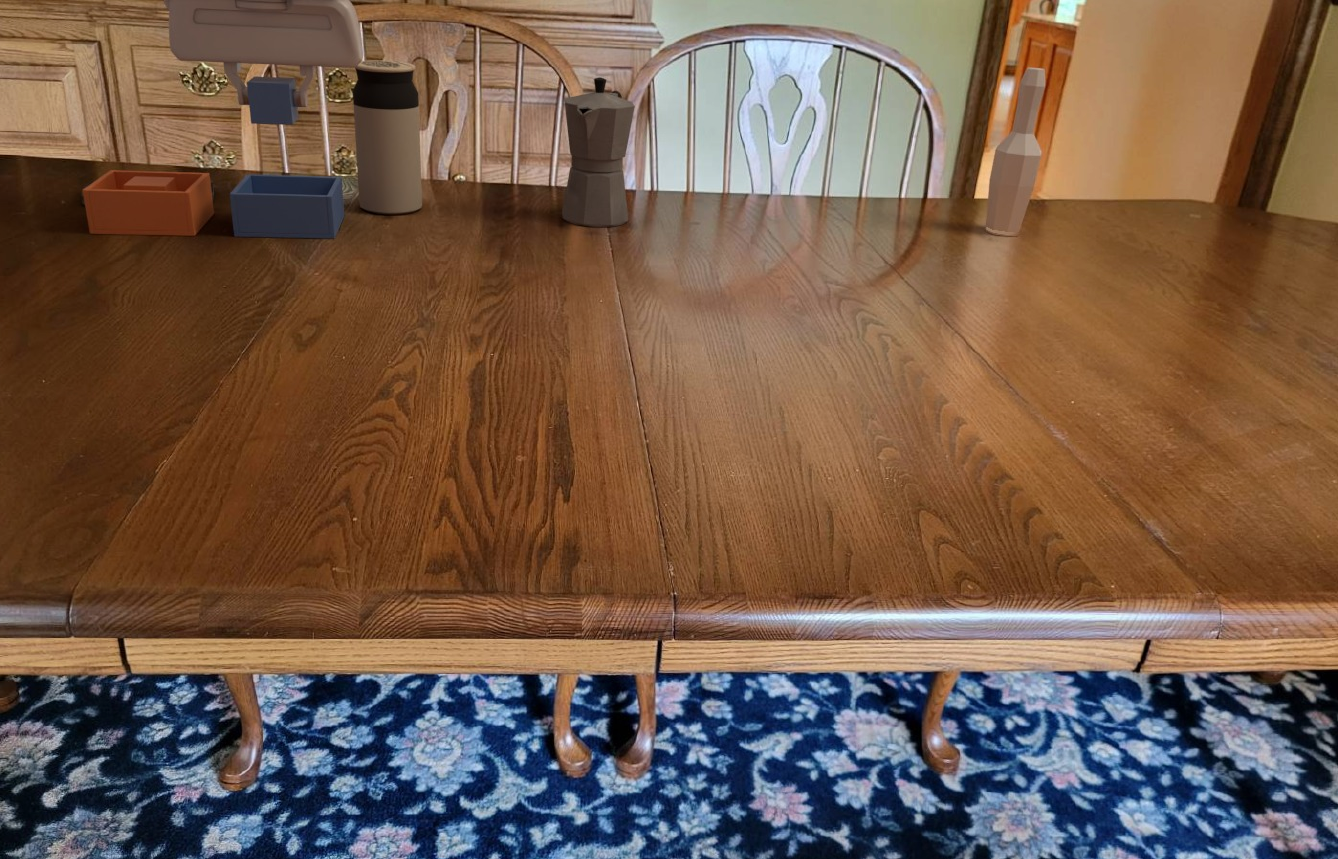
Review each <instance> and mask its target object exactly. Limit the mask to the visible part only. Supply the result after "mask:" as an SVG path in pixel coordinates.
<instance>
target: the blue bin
mask: <svg viewBox="0 0 1338 859" xmlns="http://www.w3.org/2000/svg"><path fill="white" fill-rule="evenodd" d="M229 201H230V202H229V203H230V210H231V218H232V220H231V221H232V227H233V228H232V229H233V237H234V238H236V237H237V238H276V239H277V238H280V239H281V238H282V239H283V238H284V239H332V240H334V239H336V237H337V234H338V232H339V229H340V227H341V225H342V223H343V220H344V218H345V208H344V207H345V206H344V190H343V177H342V176H322V175H321V176H320V175H286V174H285V175H284V174H279V175H278V174H255V173H254V174H253V173H252V174H251V173H246V174H245V175H244V177H243V178H242V179H241V180H240V181H239V182H238V184H237V185H236V186H235V187H233V189H232V190H231V192H230V193H229Z"/></svg>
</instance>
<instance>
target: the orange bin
mask: <svg viewBox="0 0 1338 859" xmlns="http://www.w3.org/2000/svg"><path fill="white" fill-rule="evenodd" d="M135 176H140V177H174V178H175V182H176V189H177V191H146V190H124V186H123V185H124V184H125V183H127V182H128V181H129V180H131V179H132V178H133V177H135ZM210 181H211V174H210V173H209V172H185V171H184V172H183V171H152V170H151V171H150V170H118V169H116V170H115V169H114V170H113V169H110V170H109V171H107V172H106V173H105V174H103V175H101V176H100V177H99V178H97V179H96V180H95V181H93V182H91V183H92V184H90V185H89V186H88V187H86V188H85V189H84V188H83V189H82V191H83V197H84V202H85V205H84V209H85V212H86V213H85V214H86V220H87V224H88V231H89V235H121V236H122V235H123V236H124V235H126V236H127V235H130V236H178V237H181V236H182V237H195V236H196V235H197V234H198V233H199V232H200V231H201V229H202V228H204V226H205V225H206V224H207V223H208V221H209V220H210V219H211V218H212V217H213V215H215V210H214V209H215V208H214V202H213V199H212V191H211V183H210Z"/></svg>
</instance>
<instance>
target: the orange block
mask: <svg viewBox="0 0 1338 859" xmlns="http://www.w3.org/2000/svg"><path fill="white" fill-rule="evenodd" d="M123 186H124V190H146V191H177V189H176V182H175V178H174V177H140V176H135V177H133V178H132V179H131V180H129V181H128V182H127V183H125V184H124V185H123Z"/></svg>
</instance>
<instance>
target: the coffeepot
mask: <svg viewBox="0 0 1338 859" xmlns="http://www.w3.org/2000/svg"><path fill="white" fill-rule="evenodd" d="M593 82H594V89H595V90H594V92H588V93H584V94H579V95H575V96H569V97H565V98H563V99H564V100H563V101H564V110H565V118H566V119H565V120H566V129H567V138H568V139H567V140H568V148H569V154H570V155H571V163H570V166H571V167H570V168H569V172H568V177H567V182H566V188H565V194H564V199H563V205H562V210H561V214H562V219H563V220H564V221H565V222H567V223H570V224H572V225H576V226H582V227H589V228H590V227H591V228H613V227H618V226H622V225H624V224H626V223H628V222H629V211H628V203H627V194H626V186H625V185H626V184H625V176H624V170H623V158H625V157H626V155H627V149H628V145H629V138H630V134H631V128H632V122H633V118H634V113H635V108H636V105H635V104H634V103H633V101H631V100H628V99H626V98H625V99H624V98H623V97H622V93H621V92H620V91H618V90H613V91H611V92H605V89H606V85H607V79H606V78H604V77H596V78H593Z"/></svg>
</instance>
